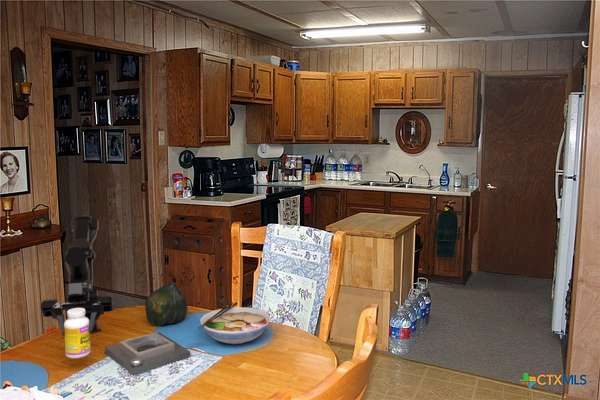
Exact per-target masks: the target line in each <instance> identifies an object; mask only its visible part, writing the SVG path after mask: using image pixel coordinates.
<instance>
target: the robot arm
mask: <svg viewBox="0 0 600 400" xmlns="http://www.w3.org/2000/svg"><path fill="white" fill-rule="evenodd" d="M99 225H100V223H99V220H98V218H96V217H92V216H90V215H77V216H75V217H74V218H73V219H71V232H73V233H74V234H73V235H74V238H73V241H72V242H71V243H69V245H68V250H66V251H65V254H64V258H63V259H64V263H65V266H66V269H67V272H68V283H66V284H65V300H66V301H67V302H59V301H58V299H57V298H53V299H42V301H41V303H40V310H41V313H42V315H43V317H44V318H49V317H50V318H52V319H54V320H56V321H57V322H58V325H59V327H60V331H61V335H62V336H65V335H64V322H65V316H64V311H68V310H70V309H73V308H84V309H85V317H87V318H88V319H89V322H90V324H89V333H90V334H92V333H95V332H100V331H102V328H101V327H99V326H98V320H99V318H100V317H101V316H102V315H104V314H105V313H106V312H113V311H114V301H113V296H112V295H111V294H103V295H99V292H98V291H97V289H96V287H95V286H94V280H93V279H94V273H93V272H94V271H93V270H94V269H93V267H94V265H93V262H94V260H95V259H96V252H95V250H94V249H93V243H94V241H95V240H96V238H97V235H98V234H97V233H98V231H99V229H100V228H99Z"/></svg>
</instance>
